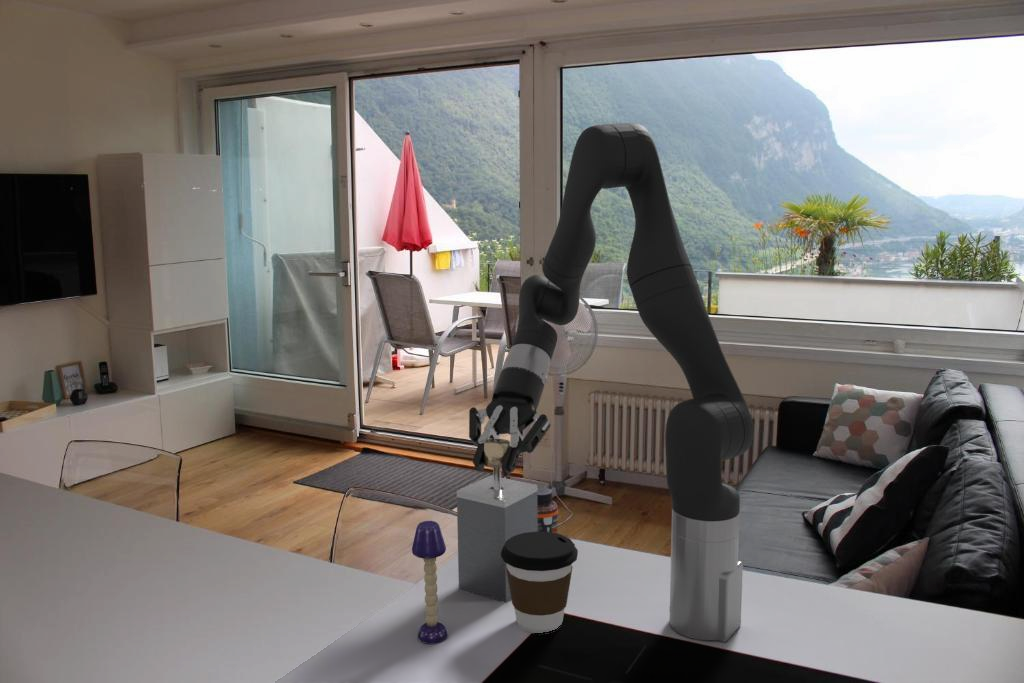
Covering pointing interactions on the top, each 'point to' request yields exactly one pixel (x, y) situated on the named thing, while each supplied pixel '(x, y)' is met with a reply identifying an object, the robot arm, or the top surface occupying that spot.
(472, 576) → the block with hole
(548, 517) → the supplement bottle
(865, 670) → the top surface
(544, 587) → the coffee cup
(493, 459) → the tan rounded stemmed piece
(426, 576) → the toy lamp
